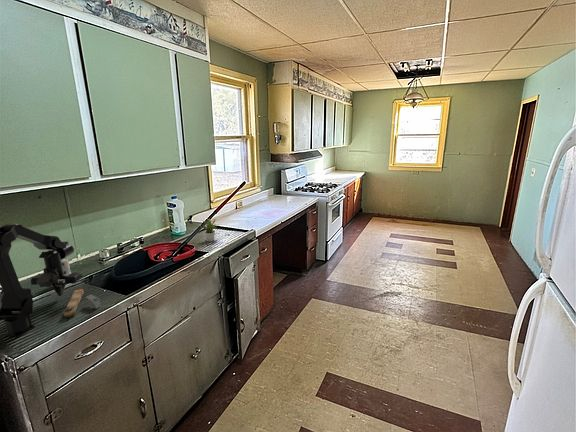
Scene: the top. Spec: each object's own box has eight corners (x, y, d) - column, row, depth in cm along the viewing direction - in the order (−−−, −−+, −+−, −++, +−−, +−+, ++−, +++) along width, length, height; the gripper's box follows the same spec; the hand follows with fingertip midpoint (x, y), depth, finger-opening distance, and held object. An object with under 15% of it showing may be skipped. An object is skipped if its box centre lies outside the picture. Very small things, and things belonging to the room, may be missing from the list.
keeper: (95, 309, 127) (93, 301, 126) (87, 304, 131) (85, 297, 130) (101, 306, 129) (99, 298, 128) (92, 302, 133) (91, 294, 132)
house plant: (212, 234, 221) (210, 213, 217) (225, 238, 213) (224, 216, 209) (196, 240, 210) (194, 218, 205) (210, 244, 202) (208, 221, 198)
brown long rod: (74, 315, 122) (73, 309, 121) (62, 318, 120) (61, 311, 120) (84, 292, 140) (83, 287, 139) (74, 294, 138) (73, 289, 137)
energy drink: (70, 278, 155) (66, 257, 152) (74, 281, 151) (69, 259, 148) (58, 282, 151) (53, 260, 148) (61, 285, 148) (56, 263, 144)
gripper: (16, 272, 123) (25, 306, 127) (63, 271, 124) (70, 304, 128) (36, 261, 133) (44, 292, 137) (79, 260, 134) (86, 291, 138)
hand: (60, 295), depth 135 cm, fingers closed
